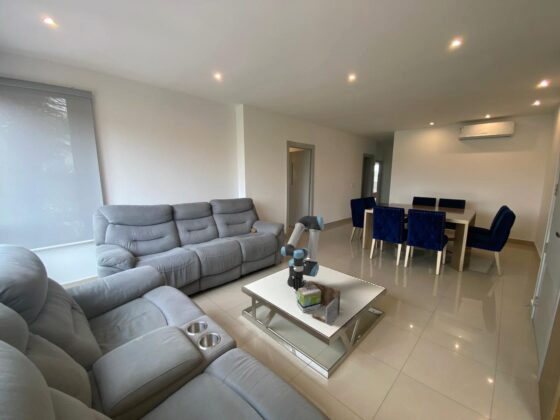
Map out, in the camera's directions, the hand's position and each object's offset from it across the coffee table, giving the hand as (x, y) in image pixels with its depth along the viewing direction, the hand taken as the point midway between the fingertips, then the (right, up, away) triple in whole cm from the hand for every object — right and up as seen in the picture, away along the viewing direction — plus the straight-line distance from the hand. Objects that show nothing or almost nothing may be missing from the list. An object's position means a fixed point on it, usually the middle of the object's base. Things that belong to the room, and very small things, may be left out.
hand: (297, 298), depth 181 cm
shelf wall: (+14, -6, -10) cm, 18 cm away
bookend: (+24, -7, -18) cm, 31 cm away
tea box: (+8, -5, -5) cm, 10 cm away
